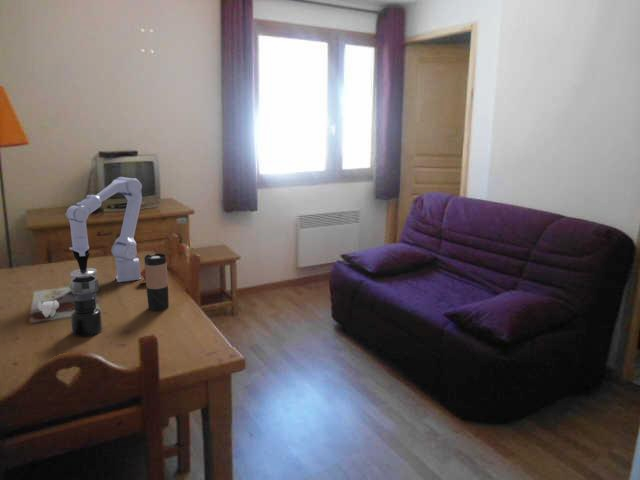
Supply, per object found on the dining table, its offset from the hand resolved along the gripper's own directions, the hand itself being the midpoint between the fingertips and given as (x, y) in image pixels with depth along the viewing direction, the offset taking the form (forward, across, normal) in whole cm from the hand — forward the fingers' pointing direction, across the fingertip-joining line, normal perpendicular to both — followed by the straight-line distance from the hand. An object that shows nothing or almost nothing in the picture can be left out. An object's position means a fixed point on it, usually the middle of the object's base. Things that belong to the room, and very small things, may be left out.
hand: (83, 269), depth 201 cm
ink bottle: (+10, +42, -2) cm, 43 cm away
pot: (+9, -2, 0) cm, 10 cm away
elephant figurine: (+10, +22, -13) cm, 27 cm away
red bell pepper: (+10, +1, +25) cm, 27 cm away
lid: (+3, 0, 0) cm, 3 cm away
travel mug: (+10, +31, +23) cm, 40 cm away
